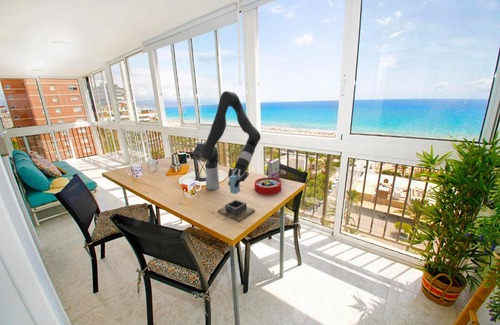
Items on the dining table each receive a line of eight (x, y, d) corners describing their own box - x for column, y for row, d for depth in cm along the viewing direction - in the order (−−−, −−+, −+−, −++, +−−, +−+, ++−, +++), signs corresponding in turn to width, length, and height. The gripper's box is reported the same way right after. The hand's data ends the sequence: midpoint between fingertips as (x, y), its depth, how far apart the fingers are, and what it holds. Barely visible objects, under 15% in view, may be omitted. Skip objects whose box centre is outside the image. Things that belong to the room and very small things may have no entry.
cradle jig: (217, 211, 119) (216, 204, 118) (233, 203, 129) (233, 196, 128) (239, 221, 108) (238, 213, 107) (255, 211, 118) (254, 203, 117)
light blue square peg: (230, 192, 115) (229, 176, 112) (234, 190, 118) (233, 174, 115) (235, 194, 113) (234, 177, 110) (239, 191, 116) (238, 175, 113)
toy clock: (256, 177, 159) (281, 178, 155) (256, 184, 160) (281, 184, 157) (252, 187, 140) (280, 188, 136) (252, 194, 141) (280, 195, 138)
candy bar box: (274, 176, 174) (274, 158, 169) (279, 177, 171) (279, 159, 166) (267, 180, 166) (267, 161, 161) (272, 181, 163) (272, 162, 158)
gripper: (231, 156, 120) (219, 181, 114) (251, 158, 112) (239, 185, 106) (237, 162, 125) (226, 186, 119) (256, 165, 117) (245, 191, 111)
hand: (232, 186), depth 112 cm, fingers closed on light blue square peg, 4 cm apart
